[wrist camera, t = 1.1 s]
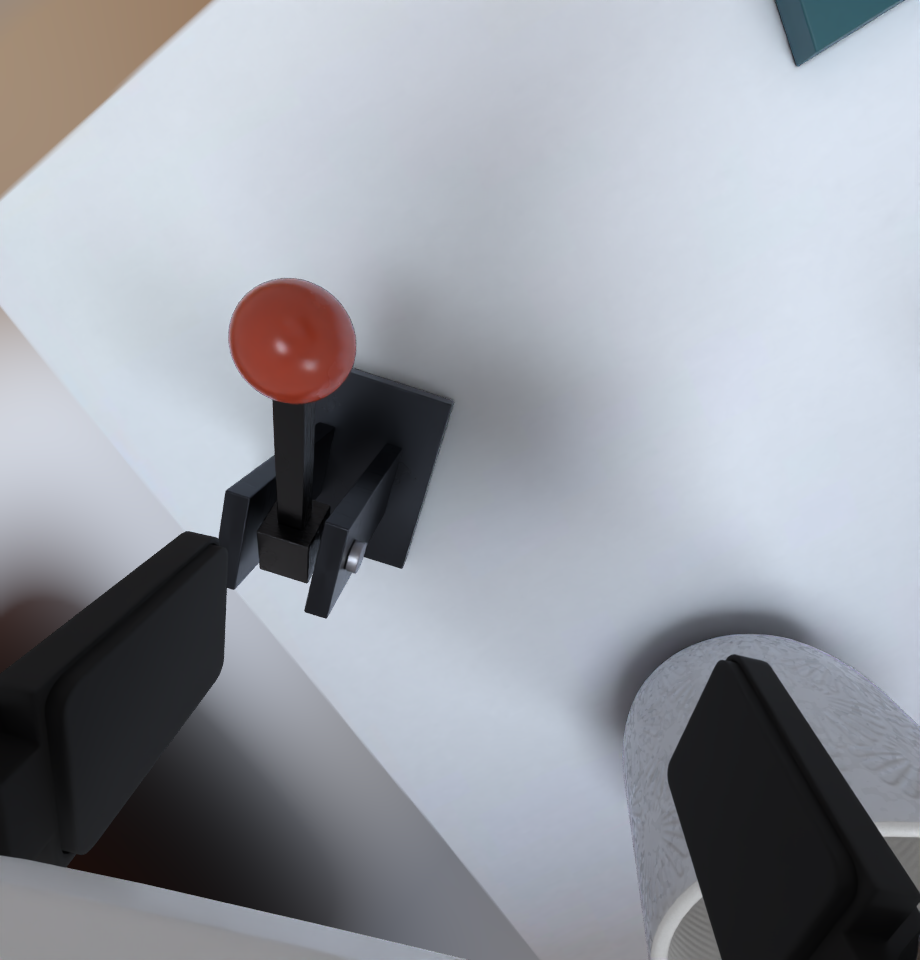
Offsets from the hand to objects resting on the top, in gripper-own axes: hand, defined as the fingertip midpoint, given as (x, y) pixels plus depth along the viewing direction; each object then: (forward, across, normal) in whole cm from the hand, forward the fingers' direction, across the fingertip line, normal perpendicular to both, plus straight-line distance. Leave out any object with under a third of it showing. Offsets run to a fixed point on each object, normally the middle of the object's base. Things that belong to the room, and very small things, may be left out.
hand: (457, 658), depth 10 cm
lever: (+11, +7, 0) cm, 13 cm away
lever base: (+22, +7, +5) cm, 24 cm away
